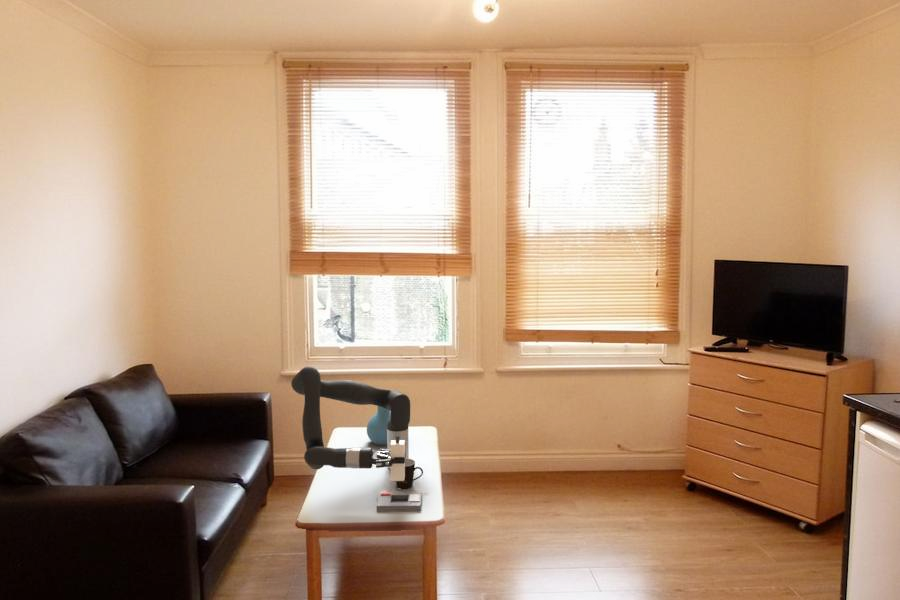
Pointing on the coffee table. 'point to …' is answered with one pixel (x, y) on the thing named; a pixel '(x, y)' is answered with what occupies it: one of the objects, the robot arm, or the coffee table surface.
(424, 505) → the coffee table surface
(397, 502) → the socket
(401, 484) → the coffee mug
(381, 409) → the vase
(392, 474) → the plug
